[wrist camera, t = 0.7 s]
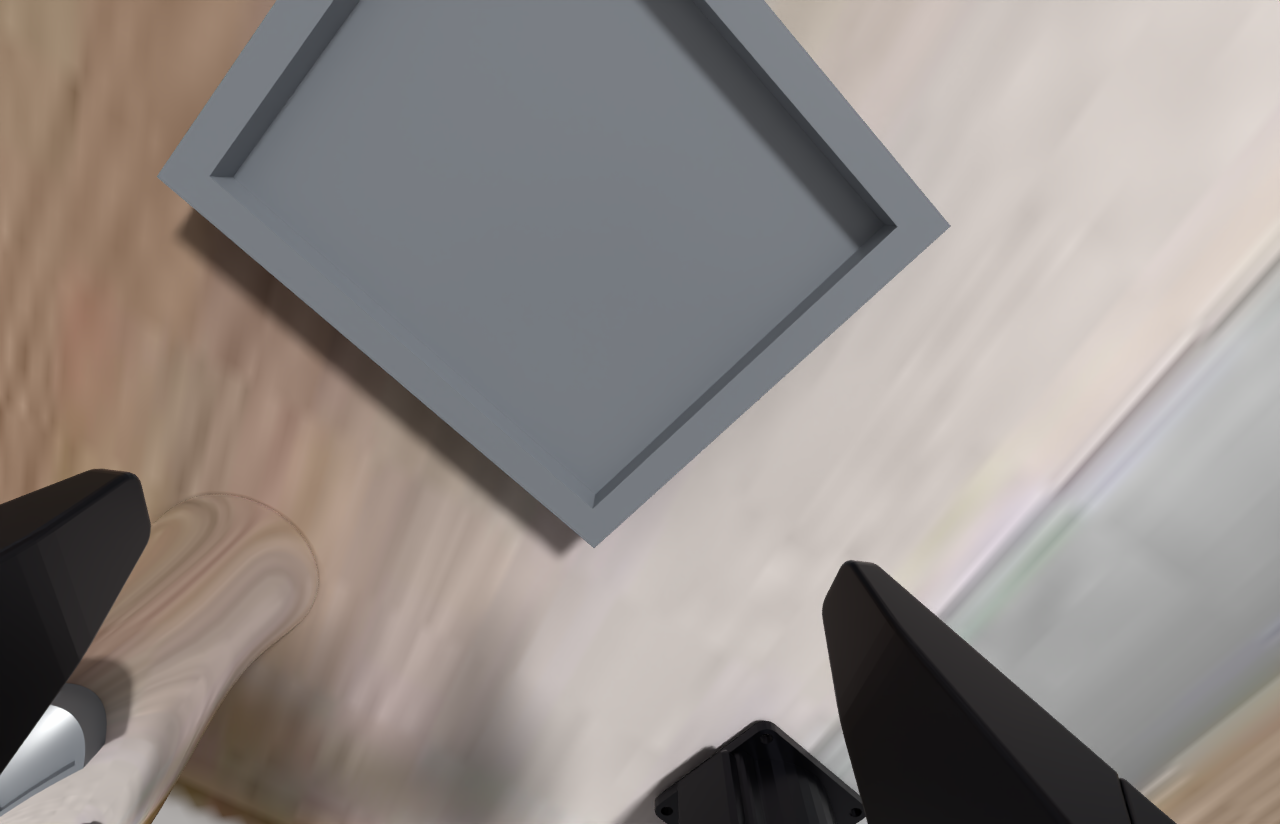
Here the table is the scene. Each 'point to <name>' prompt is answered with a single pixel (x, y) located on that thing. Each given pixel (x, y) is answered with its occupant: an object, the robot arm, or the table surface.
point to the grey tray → (558, 216)
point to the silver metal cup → (162, 664)
